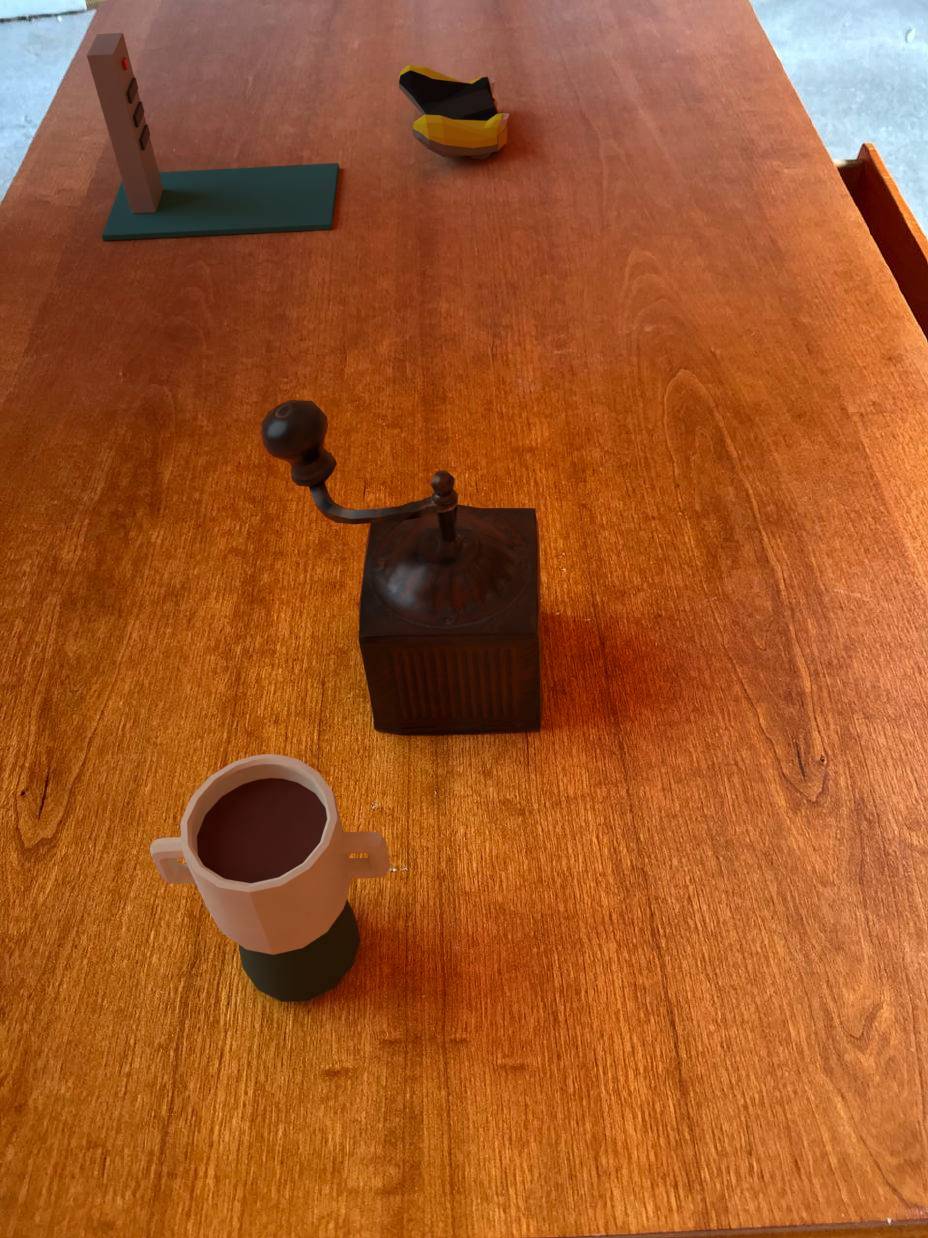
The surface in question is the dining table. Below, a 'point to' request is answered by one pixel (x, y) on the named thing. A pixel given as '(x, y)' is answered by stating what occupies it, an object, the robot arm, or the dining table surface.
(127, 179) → the remote
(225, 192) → the felt mat
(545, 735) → the dining table surface
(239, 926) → the character mug
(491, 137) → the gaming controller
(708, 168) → the dining table surface
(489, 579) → the manual coffee grinder
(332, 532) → the dining table surface
